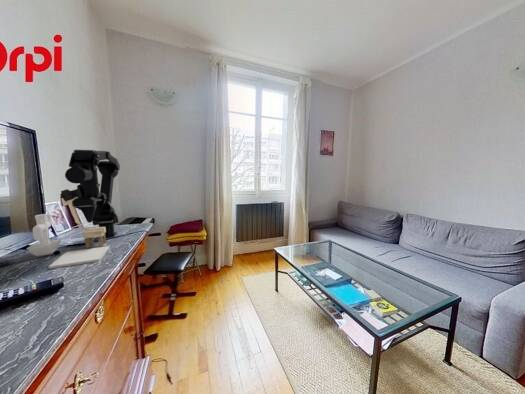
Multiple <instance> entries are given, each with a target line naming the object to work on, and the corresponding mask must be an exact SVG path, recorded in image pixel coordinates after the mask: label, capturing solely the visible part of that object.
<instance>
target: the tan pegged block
mask: <svg viewBox="0 0 525 394" xmlns="http://www.w3.org/2000/svg"><path fill="white" fill-rule="evenodd" d="M105 233H106V227H99V226H98V227H89V228H86V229H85V230H84V231H82V238H83V239H84V243H85V244H84V245H85V249H91V246H94V245H95V243H94V238H97V237H98V248H99V247H104V244H107V238H105Z"/></svg>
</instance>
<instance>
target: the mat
mask: <svg viewBox="0 0 525 394" xmlns="http://www.w3.org/2000/svg"><path fill="white" fill-rule="evenodd" d="M109 249H110V246H108V245H107V246H103V247H99V246H98V247H92V248H89V249H86V248H85V249H76V250H70V251H69V250H68V251H66V252H64V253H63V254H62V255H61V256H60V257H59V258H57V259H56V260H54V262H52V263H51V264H50V265H49V266H48V269H49V270H50V269H56V268H64V267H70V266H76V265H77V266H78V265H81V264H82V265H83V264H89V263H90V264H91V263H96V262H100V261H101V260H102V258H103V257H104V256H105V254H107V252H108V251H109Z"/></svg>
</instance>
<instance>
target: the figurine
mask: <svg viewBox="0 0 525 394" xmlns="http://www.w3.org/2000/svg"><path fill="white" fill-rule="evenodd" d="M34 219H35V222H36V225H35V226H33V227H32V236H33V240H34V241H35V242H34V243H33V244H32V245H30V246H28V247H27V248H26V250H27V251H29V252H30V253H31V254H32V255H34V256H35V257H37V256H39V257H40V256H46V255H51V254H54V252H56V251H57V250H58V248H59V245H60V243H61V242H62V239H53V240H51V239H50V232H49V228H51V227H52V216H51V214H49V213H41V214H36V215H34Z"/></svg>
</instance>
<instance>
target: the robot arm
mask: <svg viewBox="0 0 525 394" xmlns="http://www.w3.org/2000/svg"><path fill="white" fill-rule="evenodd" d="M68 167H69V168H68V169H66V171H65V174H64V178H65V179H66V180H67V181H68V182H70V184H71V183H72V184H76V189H72V190H70V189H67V188H66V189H63V190H61V191H60V194H59V196H60V197H59V198H60V199H63V201H64V202H65V203H66V202H68V201H71V200H72V201H71V205H72V207H74V208H75V209H77V210H79V211H81V212H82V214H83V217H84V218H85V220H86V222H87V223H88V224H89V223H92V225H93V226H98V227H106V233H105V238H106V239H107V238H114V237H115V236H116V235H117V234H118V232H116V231H115V224H118V223H119V217H118V215H117V213H116V211H115V208H114V207H113V206H112V199H113V198H112V197H113V189H114V179H115V178H116V177H117V176H118V175H119V171H120V169H121V167H120V163H119V160H118V159H117V158H116V157H114V156H113V155H112V154H111V152H110V151H107V150H95V149H73V152H71V155H70V160H69V162H68ZM98 171H99V173H100V174H101V179H100V180H101V181H100V182H101V183H99V177H98ZM77 184H78V185H77ZM96 239H98V237H96Z"/></svg>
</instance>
